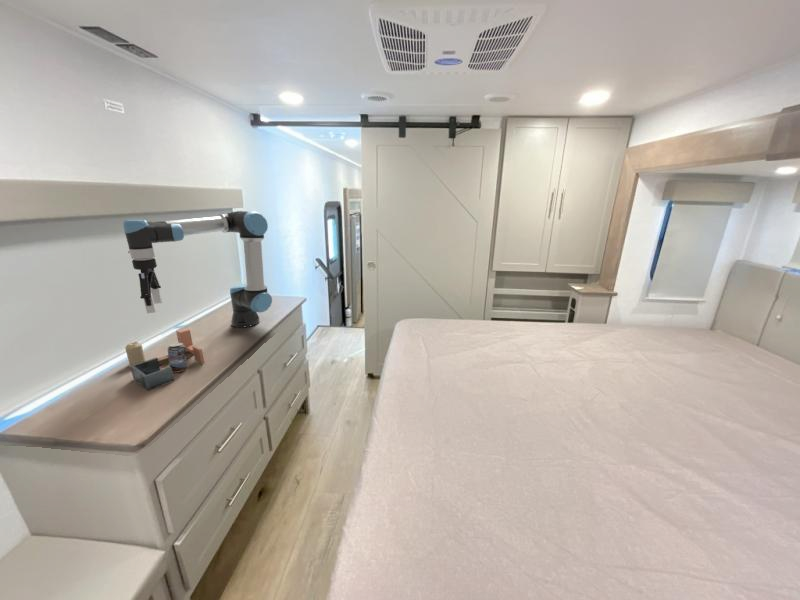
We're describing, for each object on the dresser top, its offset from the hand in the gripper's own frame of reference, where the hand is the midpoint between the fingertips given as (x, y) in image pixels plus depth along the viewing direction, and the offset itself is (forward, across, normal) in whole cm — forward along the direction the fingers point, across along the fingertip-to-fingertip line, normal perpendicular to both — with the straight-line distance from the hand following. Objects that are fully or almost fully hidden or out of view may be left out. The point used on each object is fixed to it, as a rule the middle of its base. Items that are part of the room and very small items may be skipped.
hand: (154, 307), depth 133 cm
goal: (+25, +17, -2) cm, 30 cm away
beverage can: (+26, +12, +6) cm, 29 cm away
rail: (+25, +2, +3) cm, 26 cm away
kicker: (+25, +4, +11) cm, 27 cm away
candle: (+26, -2, -11) cm, 28 cm away
